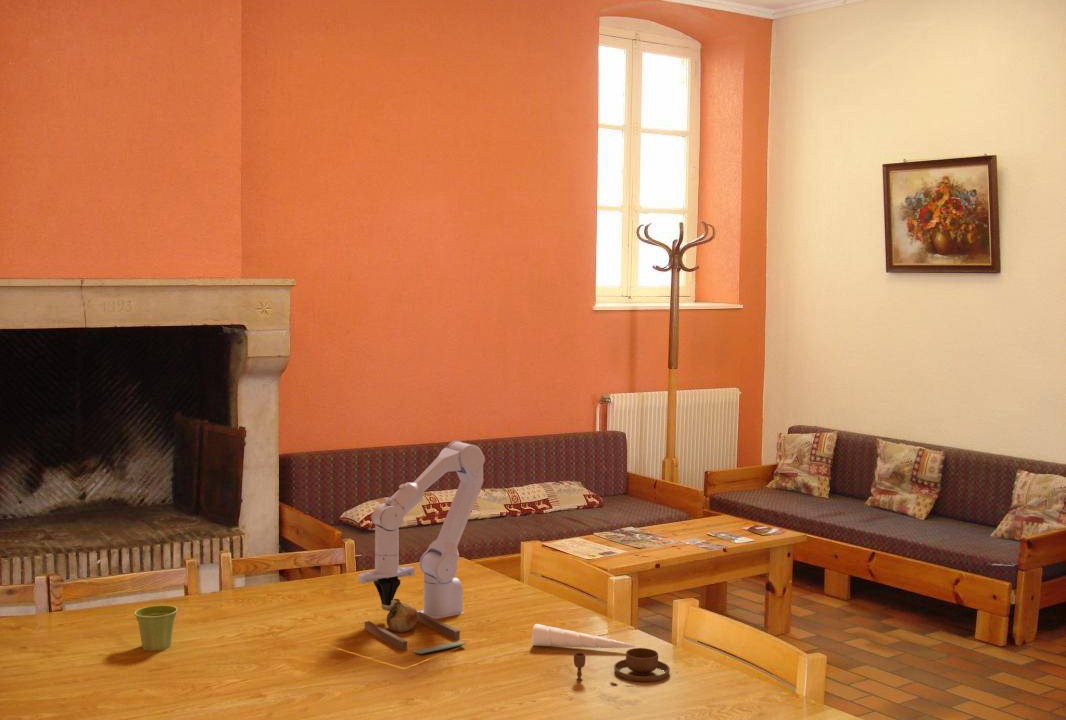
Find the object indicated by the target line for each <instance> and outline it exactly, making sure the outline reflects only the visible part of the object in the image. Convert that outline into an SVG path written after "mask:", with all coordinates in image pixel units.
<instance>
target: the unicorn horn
mask: <svg viewBox="0 0 1066 720" xmlns="http://www.w3.org/2000/svg"><path fill="white" fill-rule="evenodd" d="M531 644H532V645H533V646H538V647H539V646H541V647H561V648H562V647H563V648H565V647H566V648H567V647H569V648H589V649H591V648H592V649H596V648H598V649H599V648H600V649H629V648H630V649H633V648H635V647H636V646H635V644H634V645H633V644H631V643H629V642H628V643H627V642H623V641H619V640H615V639H611V638H607V637H602V636H597V635H592V634H587V633H584V632H577V631H574V630H568V629H562V628H560V627H554V626H549V625H548V626H547V625H544V624H539V623H535V624H534V625H533V627H532V631H531Z"/></svg>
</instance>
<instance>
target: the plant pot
mask: <svg viewBox="0 0 1066 720" xmlns="http://www.w3.org/2000/svg"><path fill="white" fill-rule="evenodd" d="M178 610H179V609H178V607H177V606H174V605H168V604H167V605H166V604H162V605H161V604H160V605H159V604H158V605H150V606H145V607H140V608H138V609H136V610H135V611H134V613H133V615H134V616H135V617H136V621H137V623H138V628H139V633H140V634H139V635H140V640H141V646H142V650H144V651H147V650H148V652H154V651H157V650H158V652H159V651H163V649H164V650H167V649H169V648H170V647H171V646H172V642H173V641H172V640H173V633H174V626H175V625H174V623H175V619H176V616H177V613H178Z"/></svg>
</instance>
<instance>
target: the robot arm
mask: <svg viewBox="0 0 1066 720" xmlns="http://www.w3.org/2000/svg"><path fill="white" fill-rule="evenodd" d="M485 462H486V458H485V455H484V453H483V451H482V449H481V448H480V447H479V446H478V445H475V444H470V443H466V442H462V441H459V440H453V441H451V442H450V443H449V444H447V446H446V447H444V448H442V449H441V450H440V452H439V454H438V456H437V457H436V458H435V459H434V460H433V461H432V462H431V463H430V464H429V465H428V466H427V468H426V469H424V471H423V472H422V473H421V474H420V475H419V476H418V477H417V478H416V479H415V480H414V481H413V482H408V481H407V482H405V484H404V483H401V484H400V485H399V486H398V490H397V491H396V492H395V493H393V494H392V495H391V497H387V498H386V499H385V500H384V501H385V503H380V504H379V505H376V506H375V508H374V509H373V512H372V514H371V515H370V519H371V522H372V524H374V527H375V528H374V531H375V532H374V570H371V571H367V572H365V573H364V572H363V573H361V574H358V578H357V579H358V580H357V581H358V583H359V584H361V585H363V584H364V585H365V584H367V583H370V582H371V583H373V584H374V586H375V588H376V590H377V593H378V594H379V599H380V602H381V606H382V605H388V606H390V605H391V601H394V599H395V594H397V593H396V592H397V591H398V588H399V587H400V585H401V579H399V578H403V577H409V576H410V577H414V576H415V573H416V572H415V567H413V566H403V567H401V566H400V567H399V556H400V555H399V554H400V553H399V549H400V546H399V544H400V543H399V539H400V537H399V534H400V533H399V532H400V531H399V528H400V527H401V526H402V525H403V521H404V517H406V515H407V514H409V512H410V511H412V510H413V509H414V508H415V507H416V506H418V504H419V503H420V502H421V501H422V500H423V497H424V492H425V491H426V490H427V489H429V488H430V487H431V486H432V485H433V484H435V483H436V482H437V481H438V480H439V479H440V478H442V477H443V476H444V475H445V474H446V473H448V472H456V474H457V476H458V479H459V484H458V488H457V489H456V491H455V494H454V497H453V500H451V501H452V502H451V504H450V507H449V509H448V511H447V514H446V516H445V519H444V520H443V524H442V526H441V529H440V531H439V534H438V536H437V538H436V539H435V540H433V541H432V542H431V543H430V544H429V546H428V548H427V550H426V551H425V552H424V553H423V554H422V555H421V556H420V559H419V565H418V566H419V569H420V570H421V572H422V574H423V609H422V610H421V609H420V610H417V612H421V613H423V614H426V615H428V616H430V617H432V618H434V619H436V620H438V619H442V618H448V617H451V616H452V617H453V616H456V615H457V616H458V615H462V614H463V615H464V614H465V612H464V611H463V608H464V606H463V602H464V601H463V600H464V599H463V595H464V594H463V593H464V591H463V584H462V582H461V579H459V578H458V577H455V576H456V574H457V572H458V561H459V559H460V553H459V550H458V546H459V542H460V540H461V539H462V536H463V533H464V530H465V529H466V525H467V523H468V521H469V518H470V515H471V514H472V511H473V508H474V507H475V503H476V501H477V499H478V496H479V494H480V492H481V489H482V486H483V484H484V464H485Z"/></svg>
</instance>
